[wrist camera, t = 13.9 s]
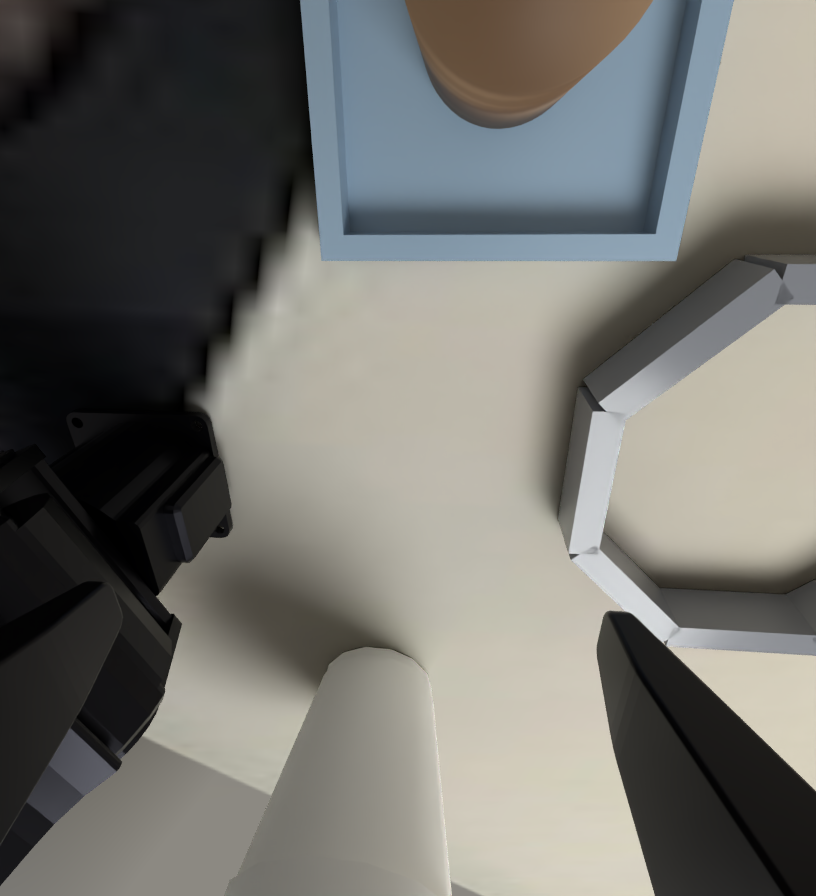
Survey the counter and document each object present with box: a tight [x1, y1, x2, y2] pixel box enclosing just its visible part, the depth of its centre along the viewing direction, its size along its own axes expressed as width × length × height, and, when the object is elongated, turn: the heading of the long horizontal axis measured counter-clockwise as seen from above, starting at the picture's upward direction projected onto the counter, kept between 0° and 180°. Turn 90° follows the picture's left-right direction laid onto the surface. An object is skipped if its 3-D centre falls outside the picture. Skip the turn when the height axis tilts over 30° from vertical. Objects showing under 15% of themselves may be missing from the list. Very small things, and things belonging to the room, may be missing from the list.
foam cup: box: [225, 647, 452, 896], centre depth 24 cm, size 10×9×13 cm
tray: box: [300, 0, 734, 261], centre depth 15 cm, size 12×13×2 cm
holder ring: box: [558, 255, 816, 656], centre depth 20 cm, size 16×16×2 cm
